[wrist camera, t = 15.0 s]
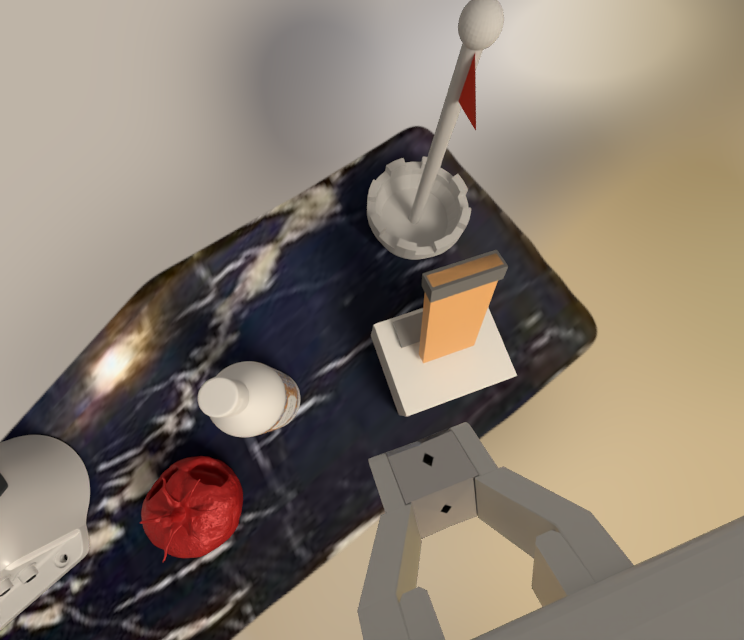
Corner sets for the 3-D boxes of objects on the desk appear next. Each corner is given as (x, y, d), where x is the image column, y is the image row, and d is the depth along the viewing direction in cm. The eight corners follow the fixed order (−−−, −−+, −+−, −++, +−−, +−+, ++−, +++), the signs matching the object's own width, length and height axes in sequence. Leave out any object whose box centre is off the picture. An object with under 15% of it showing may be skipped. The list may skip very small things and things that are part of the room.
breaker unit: (494, 379, 49) (519, 375, 42) (398, 414, 48) (407, 416, 40) (463, 304, 51) (482, 287, 44) (370, 335, 50) (374, 323, 42)
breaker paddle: (476, 347, 42) (508, 266, 30) (422, 366, 41) (431, 291, 29) (469, 333, 43) (496, 249, 31) (415, 352, 42) (422, 273, 30)
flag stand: (361, 182, 54) (373, -77, 25) (452, 176, 55) (565, -80, 26) (371, 270, 52) (397, 95, 22) (466, 262, 53) (610, 84, 23)
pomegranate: (253, 535, 44) (229, 572, 35) (162, 550, 43) (113, 591, 34) (247, 446, 46) (223, 458, 37) (160, 458, 45) (113, 474, 36)
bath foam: (282, 439, 46) (233, 465, 27) (232, 412, 47) (148, 418, 27) (311, 388, 48) (284, 376, 28) (262, 361, 48) (202, 332, 29)
